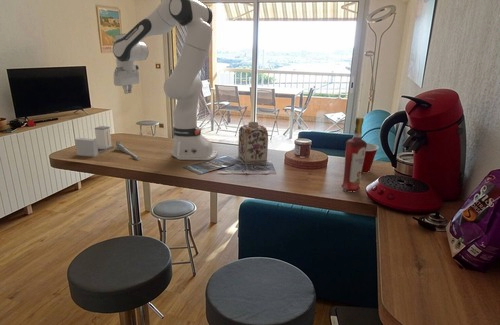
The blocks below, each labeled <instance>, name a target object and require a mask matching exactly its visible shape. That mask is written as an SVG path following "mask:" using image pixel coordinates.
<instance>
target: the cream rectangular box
mask: <svg viewBox="0 0 500 325" xmlns="http://www.w3.org/2000/svg"><path fill="white" fill-rule="evenodd" d="M94 132H95V133H94V134H95V139H97V147H98V150H104V149H107V148H109V147H111V146H113V145H112V136H111V127H110V126H104V125H99V126H97V127H94Z"/></svg>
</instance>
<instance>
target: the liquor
mask: <svg viewBox="0 0 500 325" xmlns="http://www.w3.org/2000/svg"><path fill="white" fill-rule="evenodd" d="M363 125H364V117H357V116H356V117H355V126H354V132H353V137H352V138H350V139H348V140H346V142H345V153H344V154H345V155H344V166H343V167H344V172H343V182H342V184H341V188H343V190H344V191H345V190H346V192H347V191H352V192H351V193H354V192H353V191H356V192H358V191H359V190H360V189H361V187H360V182H361V176H362V173H361V172H362V167H363V162H364V157H365V152H366V147H367V143H368V142H366V141H365V140H363V139H362V131H363Z"/></svg>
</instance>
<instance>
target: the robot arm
mask: <svg viewBox="0 0 500 325" xmlns="http://www.w3.org/2000/svg"><path fill="white" fill-rule="evenodd" d="M213 17H214V16H213V12H212V9H211V8H210V6H208V5H207V4H206V3H202V2H201V1H199V0H162V2H160V4H158V6H156V8H155V9H154V10H153V11H152V12H151V13H149V15H148V16H146V17H144V19H142V20H140V21H139V22H138V23H137V24H136V25H134V26H133V27H132V29H130V30H129V31H128V32H127V33H120V34H117V35H116V36H115V38H114V43H113V45H112V54H113V55H114V56H115V60H116V61H115V62H116V67H115V69H114V71H113V84H114V86H115V87H121V88H122V89H123V92H124V93H123V94H127V95H128V94H131V93H132V92H133V91H132V90H133V85H135V84H139V83H140V72H139V70H140V66H139V65H138V64H136V63H135V62H138V61H145V60H147V58H148V56H149V48H148V45H147V44H146V43H145V42H143V40H144V39H146V38H147V37H151V36H160V35H167V34H168V33H170V32H171V31H172V30H173V29H175V27H176V26H177V25H178V24H180V26H181V27H184V26H185V27H186V30H187V31H186V36H185V38H184V42H183V46H182V50H181V52H180V56H179V59H178V61H177V63H176V64H175V66H174V68H173V70H172V71H171V74H170V75H169V76H168V78H166V80H164V83H163V92H164V94H165V95H166V96H167V97H168V98H170V99H172V100H176V104H175V107H174V108H173V111H172V112H173V127H172V129H173V130H172V134H173V135H172V136H173V147H172V148H173V149H172V154H171V156H173V157H174V158H176V159H177V160H178V161H179V160H182V161H183V160H184V161H185V160H186V161H211V160H213V159H215V158H216V157H217V156H218V151H217V150H214V149H213V144H212V142H211V141H210V140H209V139H207V138H206V137H205V136H203V135H202V127H201V128H200V127H198V125H197V124H198V121H197V120H198V118H197V117H198V114H197V113H198V106H199V104H198V103H199V100H200V94H201V92H202V90H203V82H202V79H201V78H200V77H199V76H198V74H199V73H200V71H201V70H202V69H203V68H204V65H205V61H206V58H207V56H208V53H209V51H210V50H209V49H210V46H211V41H212V36H213V28H212V26H211V23H212V21H213Z"/></svg>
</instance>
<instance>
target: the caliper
mask: <svg viewBox="0 0 500 325" xmlns="http://www.w3.org/2000/svg"><path fill="white" fill-rule="evenodd" d="M115 149H116V150H118V151H120V152H122V153H126V154H127V155H129V156H130V158H133V159H134V160H136V161H140V160H141V159H140V157H139V156H138V155H136V154H135V153H133V152H132V151H130V150H129V149H127V148H126V147H125V145H123V144H122V143H121V142H120V140H116V142H115Z"/></svg>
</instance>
